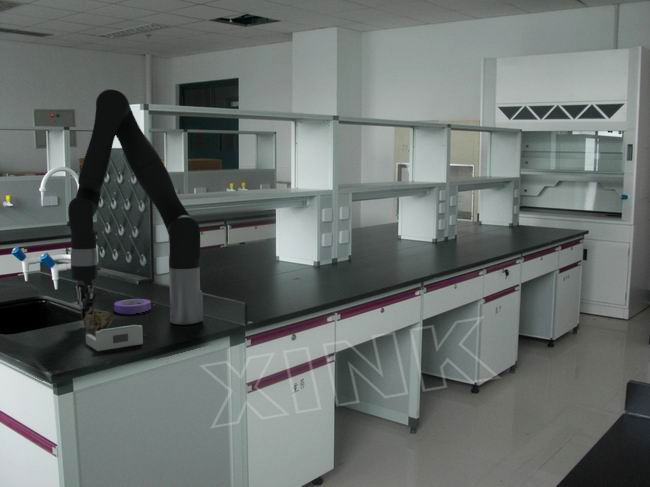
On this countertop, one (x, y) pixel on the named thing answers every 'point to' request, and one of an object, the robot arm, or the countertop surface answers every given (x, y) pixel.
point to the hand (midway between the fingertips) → (85, 320)
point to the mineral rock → (97, 320)
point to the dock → (116, 337)
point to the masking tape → (132, 306)
